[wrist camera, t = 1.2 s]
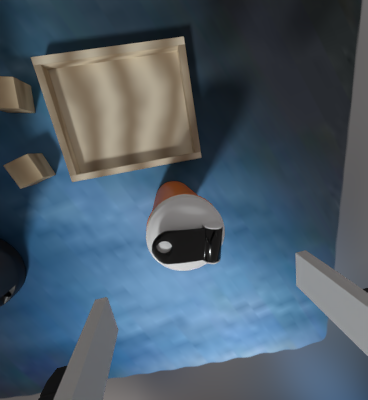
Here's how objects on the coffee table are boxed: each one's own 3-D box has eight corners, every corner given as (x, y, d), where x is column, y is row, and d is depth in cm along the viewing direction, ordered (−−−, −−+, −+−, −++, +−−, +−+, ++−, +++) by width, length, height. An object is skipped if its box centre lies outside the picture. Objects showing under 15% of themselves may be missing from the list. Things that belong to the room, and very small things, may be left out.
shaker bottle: (146, 179, 37) (135, 212, 18) (193, 172, 38) (231, 196, 19) (154, 223, 39) (152, 294, 20) (198, 216, 40) (236, 277, 21)
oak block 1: (8, 112, 32) (-13, 107, 28) (2, 84, 31) (-20, 75, 27) (35, 113, 32) (19, 108, 28) (30, 85, 31) (13, 76, 27)
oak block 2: (35, 184, 35) (20, 188, 31) (20, 163, 34) (3, 165, 30) (56, 174, 35) (43, 177, 31) (42, 153, 34) (27, 153, 30)
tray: (79, 179, 35) (72, 181, 32) (42, 65, 30) (30, 57, 28) (198, 156, 37) (201, 157, 34) (181, 46, 32) (183, 36, 29)
